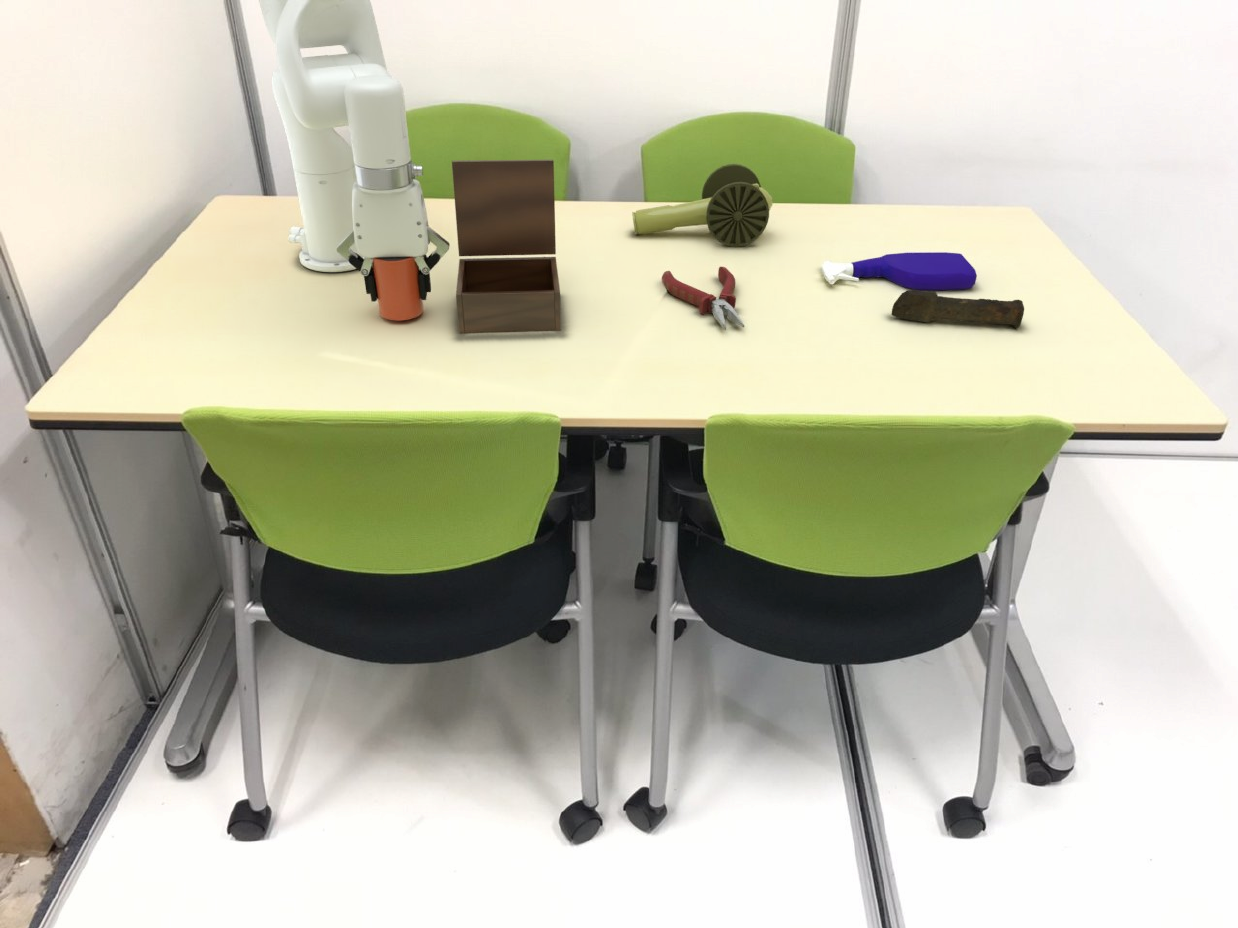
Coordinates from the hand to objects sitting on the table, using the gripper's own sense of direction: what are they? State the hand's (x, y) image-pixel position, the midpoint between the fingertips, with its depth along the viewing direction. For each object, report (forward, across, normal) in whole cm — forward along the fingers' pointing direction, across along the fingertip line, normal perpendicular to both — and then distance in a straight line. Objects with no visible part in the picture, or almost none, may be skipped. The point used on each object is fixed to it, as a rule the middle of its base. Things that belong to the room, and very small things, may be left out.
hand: (399, 296), depth 136 cm
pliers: (+4, -46, -3) cm, 46 cm away
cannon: (+4, -51, -32) cm, 60 cm away
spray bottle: (+4, -80, -11) cm, 81 cm away
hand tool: (+4, -83, +6) cm, 84 cm away
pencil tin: (+2, 0, 0) cm, 2 cm away
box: (+4, -16, 0) cm, 16 cm away
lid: (-10, -16, -7) cm, 20 cm away
